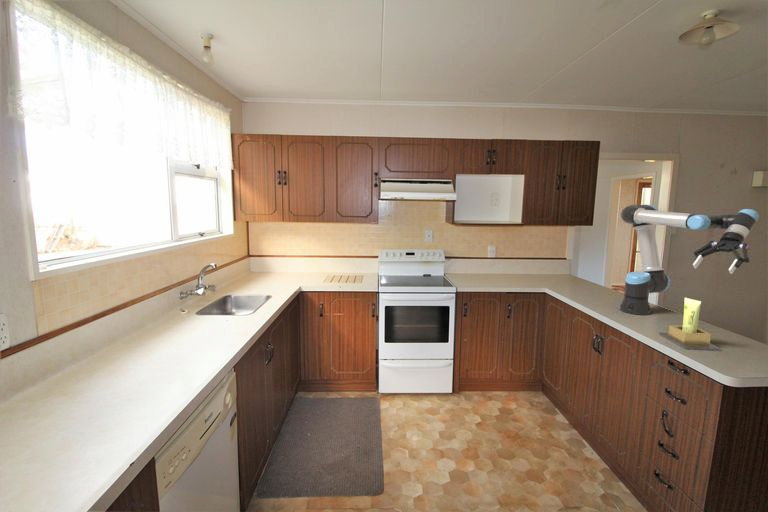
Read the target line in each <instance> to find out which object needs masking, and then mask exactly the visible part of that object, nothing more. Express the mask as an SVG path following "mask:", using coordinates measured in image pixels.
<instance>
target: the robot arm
mask: <svg viewBox="0 0 768 512" xmlns="http://www.w3.org/2000/svg"><path fill="white" fill-rule="evenodd" d="M759 217H760V215H759V213H758V212H757V211H756V210H755V209H751V208H744V209H740V210H739V211H738V212H737V213H731V214H697V213H695V214H694V213H686V212H675V211H666V210H665V211H662V210H659V209H658V208H657V207H655V206H654V205H651V204H630V205H627V206H625V207H624V208H623V209H622V211H621V212H620V218H621V220H622V221H623V222H624V223H626V224H629V225H632V228H633V229H634V230H635V231H636V235H637V240H638V241H637V242H638V249H639V254H640V255H639V256H640V261H641V267H642V268H641V270H640V271H631V272H628V273H627V274H626V277H625V280H624V281H625V284H624V296H623V299H622V300H621V303H620V304H619V308H618V309H619V310H620V311H621V312H624V313H626V314H632V315H637V316H638V315H639V316H648V315H650V314H651V307H650V306H651V305H650V303H649V297H650V295H649V294H654V293H658V294H659V293H661V292H665V291H667V290H668V289H669V287H670V285H671V278H670V277H669V275H667V273H665V269H664V268H662V267H661V264H660V258H659V252H658V245H657V239H656V234H655V227H656V226H657V225H658V226H667V227H676V228H684V229H690V230H694V231H707V230H708V231H710V230H725V231H724V233H723V234H722V236H721V237H720V239H719V241H716V242H715V241H714V240H710V241H709V242H708V243H707V244H706V245H704V246H702V247H700V248H699V249H696V250H695V251H694V252H693V255H694V257H695V258H694V260H693V261H694V262H693V264H692V266H693V268H694V269H697V268H698V267H699V265H700V264H701V263H702V261H703V260H704V258H705V257H707V256H710V255H713V254H714V253H720V252H724V253H725V252H726V253H730V252H732V254H733V255H734V257H735V259H734V261H733V262H732V264H731V265H730V267H729V268H728V272H729V274H731V275H732V274H733V273H734V272H735V271H736V269H737V268H738V269H739V268H740V267H741V265H742V264H743V263H747V264H748V263H750V257H749V252H748V249H749V245H748V243H746V242H745V243H743V242H744V241H745V239H746V237H747V236H748V235H749V233H750V231H751V230H752V229H753V227H754V226H755V224H756V223H757V221H758V219H759ZM742 243H743V244H742ZM738 249H741V250H742V254H743V257H742V256H741V255H740V253H739V252H738Z"/></svg>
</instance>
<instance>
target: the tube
mask: <svg viewBox="0 0 768 512" xmlns="http://www.w3.org/2000/svg"><path fill="white" fill-rule="evenodd" d="M683 303H684V305H683V319H682V320H683V322H682V326H683V330H682V331H684V332H688V333H697V328H698V327H699V326H698V325H699V317H700V311H701V306H702V305H701V304H702V301H701V300H697V299H693V298H688V297H684V302H683Z"/></svg>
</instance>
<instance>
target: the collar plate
mask: <svg viewBox="0 0 768 512" xmlns="http://www.w3.org/2000/svg"><path fill="white" fill-rule="evenodd" d="M668 327H669V329H668V332H660V331H659V332H658V335H659V336H662V337H663V338H665V339H666V340H668V341H670V342H672V343H673V344H675V345H677V346H679V347H681V348H683V349H684V350H692V349H694V351H696V350H697V351H698V350H699V351H716V352H717V351H720V352H721V351H722V348H721V347H720V346H717V345H715V344H712V343H711V338H712V336H711V335H712V334H711V333H709V332H707V331H706V330H705V331H704V330H703V329H701V328H698V327H697V333H688V332H684V331H682V330H683V325H669V326H668Z"/></svg>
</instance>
